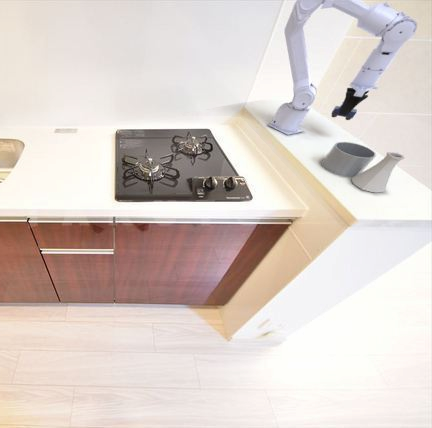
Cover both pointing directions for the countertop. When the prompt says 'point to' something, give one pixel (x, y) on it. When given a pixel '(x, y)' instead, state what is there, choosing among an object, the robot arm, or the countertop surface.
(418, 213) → the countertop surface
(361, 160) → the steel cup
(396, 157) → the flask
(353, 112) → the toy car
